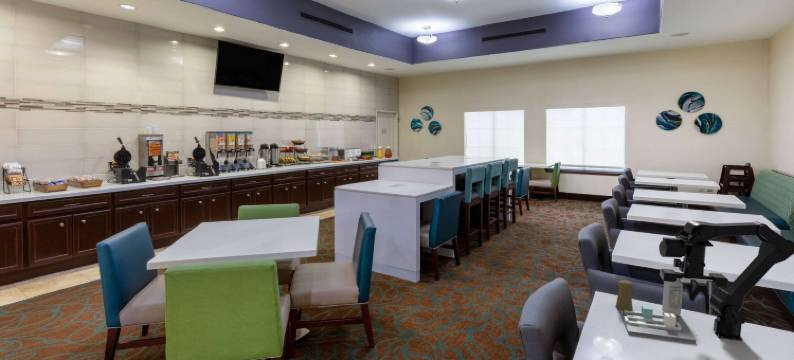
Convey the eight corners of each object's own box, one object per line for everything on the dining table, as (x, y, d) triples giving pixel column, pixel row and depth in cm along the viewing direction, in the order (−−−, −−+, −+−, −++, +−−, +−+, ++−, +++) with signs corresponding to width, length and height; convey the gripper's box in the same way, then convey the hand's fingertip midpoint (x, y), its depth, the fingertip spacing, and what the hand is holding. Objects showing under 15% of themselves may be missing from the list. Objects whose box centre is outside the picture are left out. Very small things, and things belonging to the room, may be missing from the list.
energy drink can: (676, 311, 163) (678, 274, 161) (683, 318, 157) (686, 280, 155) (659, 310, 164) (661, 273, 162) (666, 317, 158) (668, 279, 156)
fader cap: (672, 324, 149) (673, 313, 149) (675, 328, 147) (675, 316, 146) (663, 323, 150) (663, 312, 150) (665, 326, 148) (666, 315, 147)
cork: (635, 310, 164) (637, 284, 162) (620, 311, 164) (621, 284, 162) (627, 304, 170) (629, 278, 168) (612, 304, 170) (614, 278, 168)
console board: (681, 321, 154) (682, 308, 153) (695, 343, 139) (697, 328, 138) (621, 314, 161) (621, 301, 160) (628, 334, 146) (629, 320, 145)
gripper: (718, 253, 147) (714, 295, 149) (657, 248, 154) (654, 289, 156) (731, 263, 137) (727, 308, 139) (665, 258, 143) (662, 301, 145)
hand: (691, 300), depth 145 cm, fingers closed
